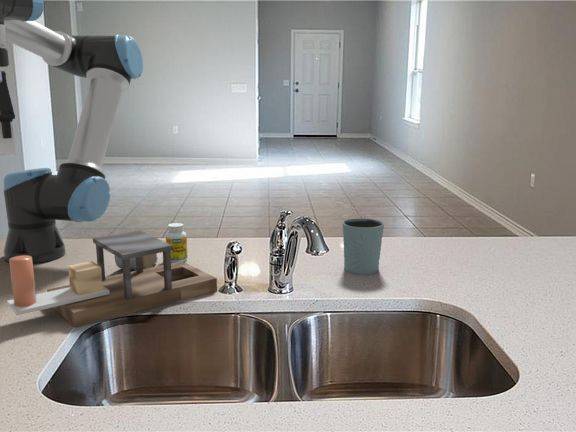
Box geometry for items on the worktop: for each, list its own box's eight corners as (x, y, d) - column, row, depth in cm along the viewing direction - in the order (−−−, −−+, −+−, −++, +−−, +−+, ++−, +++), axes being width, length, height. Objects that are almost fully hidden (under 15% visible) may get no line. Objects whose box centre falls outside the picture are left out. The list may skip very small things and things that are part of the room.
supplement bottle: (182, 255, 159) (180, 221, 157) (191, 260, 155) (189, 225, 152) (163, 259, 156) (161, 224, 153) (172, 264, 151) (170, 228, 149)
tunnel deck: (48, 302, 126) (43, 246, 123) (182, 272, 145) (180, 223, 142) (74, 327, 113) (69, 265, 111) (217, 290, 133) (215, 237, 130)
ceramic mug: (143, 275, 143) (142, 244, 141) (114, 272, 145) (112, 241, 144) (165, 263, 153) (164, 234, 151) (137, 260, 155) (136, 232, 154)
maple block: (70, 288, 122) (68, 265, 121) (93, 283, 125) (92, 261, 124) (78, 295, 119) (76, 271, 117) (102, 290, 122) (101, 266, 120)
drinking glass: (337, 272, 145) (338, 225, 143) (345, 261, 155) (347, 216, 152) (378, 277, 142) (380, 228, 140) (384, 264, 152) (386, 219, 149)
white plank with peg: (7, 304, 116) (1, 256, 114) (96, 284, 127) (93, 241, 125) (17, 315, 111) (11, 265, 108) (109, 294, 122) (106, 248, 119)
